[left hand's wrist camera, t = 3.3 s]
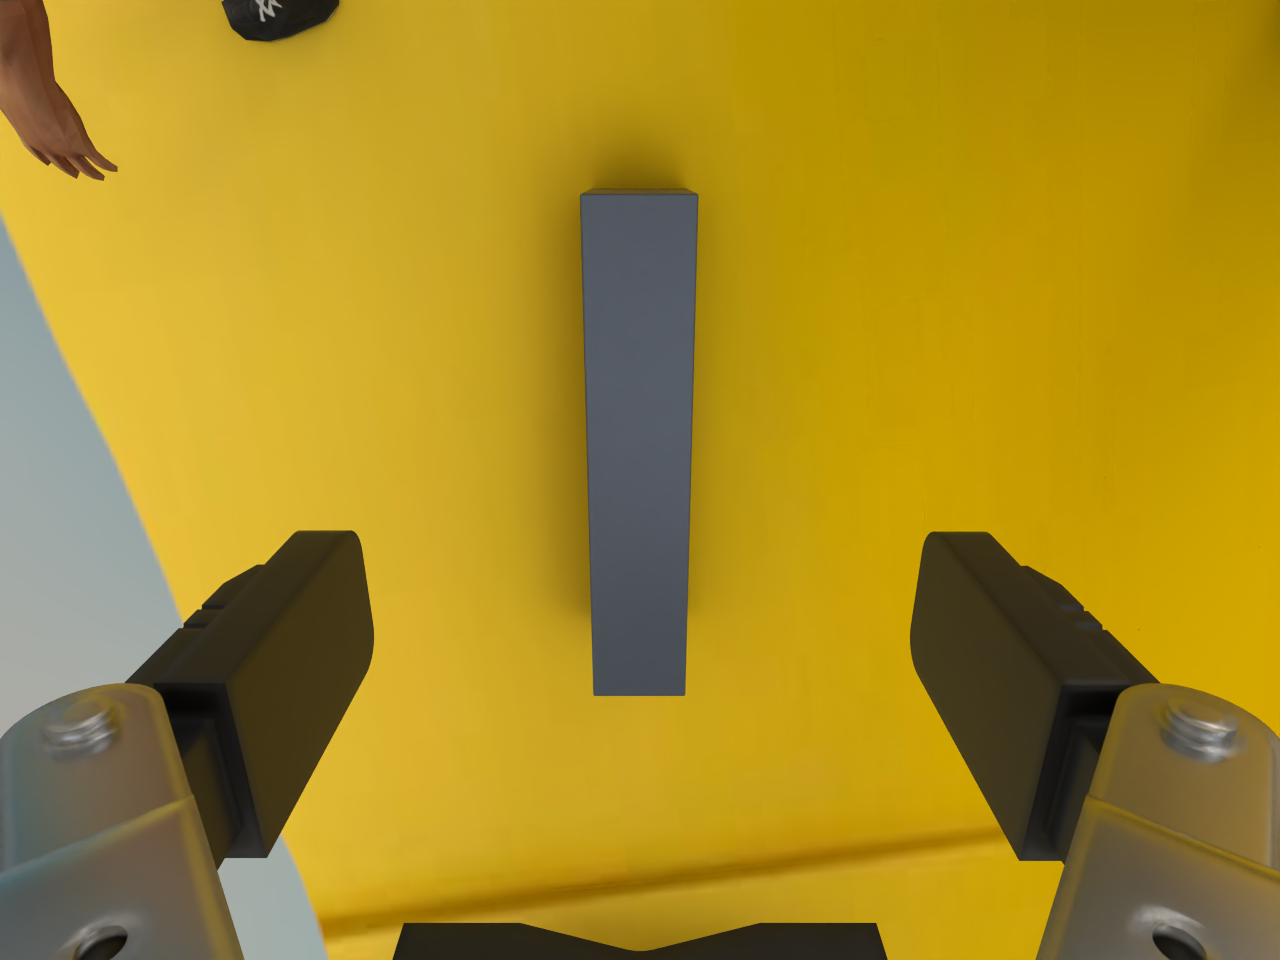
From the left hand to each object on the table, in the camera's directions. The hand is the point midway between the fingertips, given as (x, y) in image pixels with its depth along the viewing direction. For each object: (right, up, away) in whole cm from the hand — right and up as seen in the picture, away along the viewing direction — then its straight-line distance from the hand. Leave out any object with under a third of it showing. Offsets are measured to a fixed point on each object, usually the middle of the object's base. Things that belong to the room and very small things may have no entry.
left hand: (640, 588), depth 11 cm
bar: (0, +5, +37) cm, 38 cm away
